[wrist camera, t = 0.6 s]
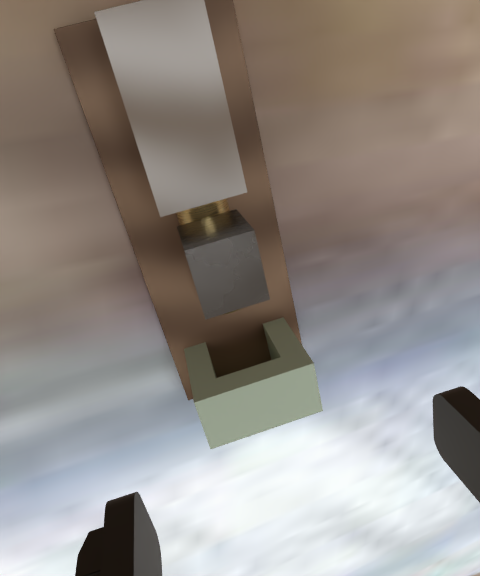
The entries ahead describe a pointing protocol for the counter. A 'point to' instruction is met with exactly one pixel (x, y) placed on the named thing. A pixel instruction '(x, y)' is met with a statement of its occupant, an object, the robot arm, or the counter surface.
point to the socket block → (254, 389)
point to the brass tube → (222, 258)
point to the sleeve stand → (181, 158)
